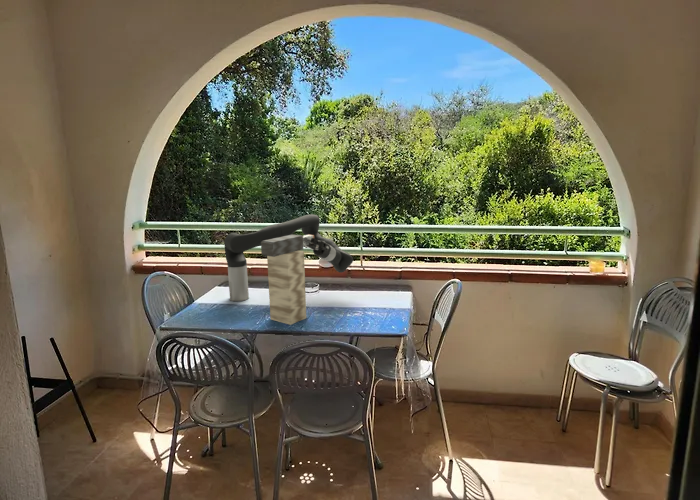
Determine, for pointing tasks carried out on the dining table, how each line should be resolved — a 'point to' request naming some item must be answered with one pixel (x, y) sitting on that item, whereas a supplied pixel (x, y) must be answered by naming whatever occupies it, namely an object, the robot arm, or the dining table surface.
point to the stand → (286, 278)
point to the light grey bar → (307, 239)
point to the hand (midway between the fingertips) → (304, 238)
